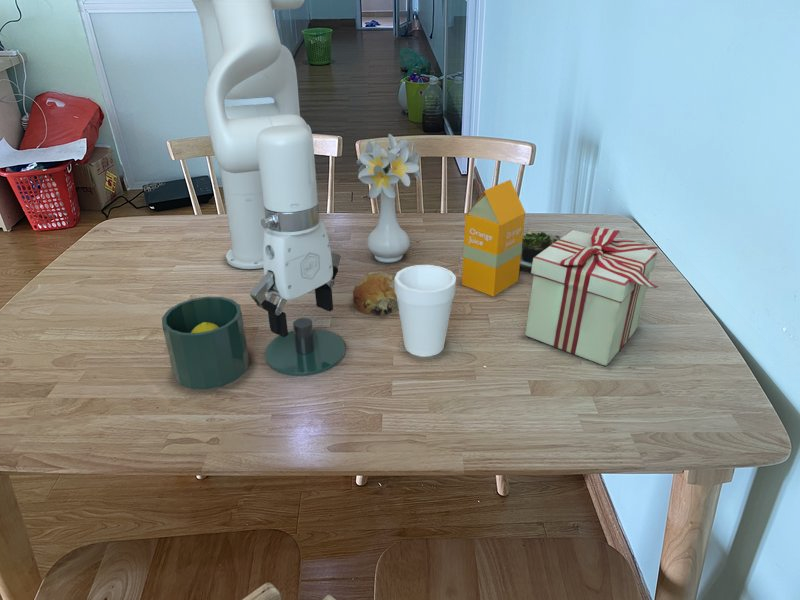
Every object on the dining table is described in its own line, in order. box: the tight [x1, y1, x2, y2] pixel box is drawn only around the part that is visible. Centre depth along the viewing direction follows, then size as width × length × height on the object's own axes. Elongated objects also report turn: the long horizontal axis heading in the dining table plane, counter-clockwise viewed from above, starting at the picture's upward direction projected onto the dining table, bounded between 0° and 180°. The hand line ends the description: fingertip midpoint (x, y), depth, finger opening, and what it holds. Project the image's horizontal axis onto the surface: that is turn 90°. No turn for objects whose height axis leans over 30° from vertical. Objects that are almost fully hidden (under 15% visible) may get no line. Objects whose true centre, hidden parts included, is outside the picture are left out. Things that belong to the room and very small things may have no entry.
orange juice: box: [461, 179, 526, 297], centre depth 114 cm, size 8×9×20 cm
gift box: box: [524, 226, 660, 367], centre depth 98 cm, size 17×18×17 cm
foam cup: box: [394, 264, 457, 358], centre depth 96 cm, size 10×9×13 cm
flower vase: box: [355, 133, 422, 264], centre depth 123 cm, size 13×18×25 cm
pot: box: [161, 296, 250, 390], centre depth 91 cm, size 11×11×10 cm
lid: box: [264, 317, 346, 377], centre depth 96 cm, size 13×13×6 cm
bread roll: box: [352, 271, 399, 316], centre depth 111 cm, size 10×10×8 cm
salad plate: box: [519, 230, 564, 273], centre depth 130 cm, size 19×18×5 cm
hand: (302, 320), depth 94 cm, fingers open, 9 cm apart
